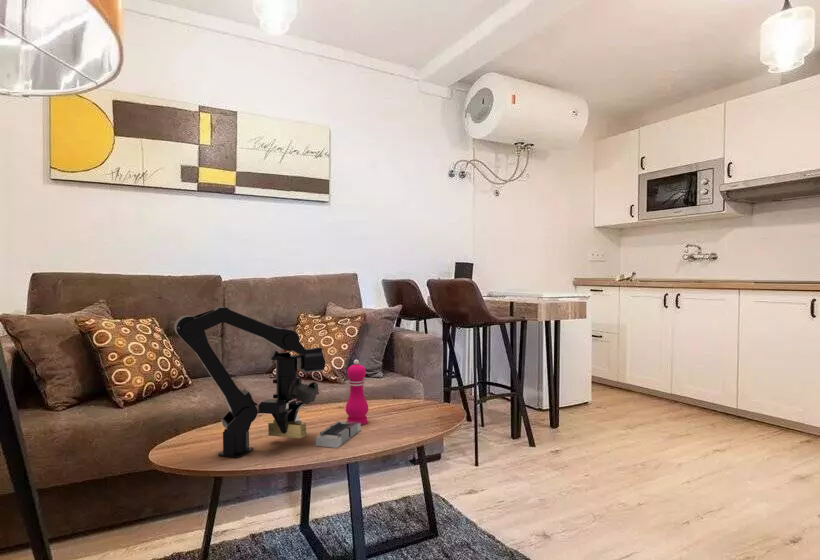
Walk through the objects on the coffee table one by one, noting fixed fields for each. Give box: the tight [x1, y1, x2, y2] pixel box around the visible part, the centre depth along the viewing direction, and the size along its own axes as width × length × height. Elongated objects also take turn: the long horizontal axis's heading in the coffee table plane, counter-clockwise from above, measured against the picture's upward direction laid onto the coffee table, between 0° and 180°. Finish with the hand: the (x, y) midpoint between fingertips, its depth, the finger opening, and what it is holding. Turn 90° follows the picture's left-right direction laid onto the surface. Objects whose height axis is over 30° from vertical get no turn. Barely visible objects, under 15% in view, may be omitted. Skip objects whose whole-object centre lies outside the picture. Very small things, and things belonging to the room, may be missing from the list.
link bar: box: [267, 418, 307, 439], centre depth 130 cm, size 10×3×4 cm, turn 73°
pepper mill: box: [345, 359, 369, 426], centre depth 148 cm, size 7×7×20 cm
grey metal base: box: [315, 420, 362, 449], centre depth 134 cm, size 16×6×3 cm, turn 163°
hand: (287, 431), depth 130 cm, fingers closed on link bar, 3 cm apart
